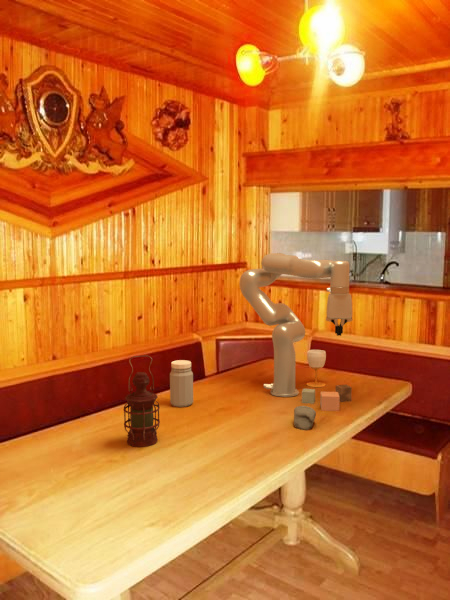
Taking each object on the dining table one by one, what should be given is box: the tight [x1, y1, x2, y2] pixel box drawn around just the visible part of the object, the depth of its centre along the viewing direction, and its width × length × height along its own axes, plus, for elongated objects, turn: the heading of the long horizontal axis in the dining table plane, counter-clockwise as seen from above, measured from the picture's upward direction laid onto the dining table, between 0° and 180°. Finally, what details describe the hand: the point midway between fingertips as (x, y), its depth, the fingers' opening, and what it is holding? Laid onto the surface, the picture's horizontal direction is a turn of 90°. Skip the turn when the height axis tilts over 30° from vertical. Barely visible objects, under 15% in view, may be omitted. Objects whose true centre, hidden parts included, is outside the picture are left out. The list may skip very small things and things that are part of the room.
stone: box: [293, 405, 317, 431], centre depth 209 cm, size 9×9×10 cm
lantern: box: [123, 354, 161, 448], centre depth 191 cm, size 12×12×30 cm
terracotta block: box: [320, 391, 340, 412], centre depth 229 cm, size 7×7×6 cm
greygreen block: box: [301, 388, 316, 405], centre depth 238 cm, size 5×5×5 cm
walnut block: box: [335, 384, 352, 403], centre depth 241 cm, size 5×5×6 cm
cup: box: [306, 349, 327, 388], centre depth 265 cm, size 9×9×16 cm
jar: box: [169, 359, 194, 408], centre depth 235 cm, size 10×10×18 cm
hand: (338, 335), depth 232 cm, fingers closed
